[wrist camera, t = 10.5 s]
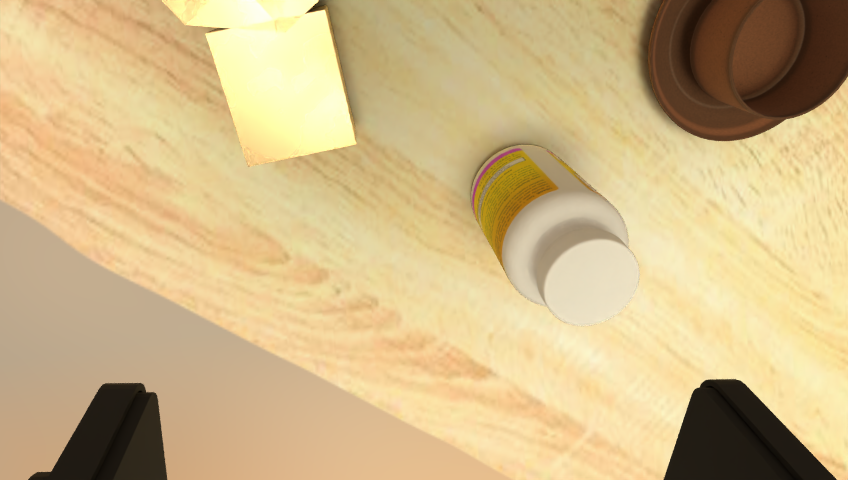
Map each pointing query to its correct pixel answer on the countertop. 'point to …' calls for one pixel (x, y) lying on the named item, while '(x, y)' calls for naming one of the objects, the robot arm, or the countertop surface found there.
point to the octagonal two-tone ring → (276, 74)
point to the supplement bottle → (555, 235)
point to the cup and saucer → (746, 62)
